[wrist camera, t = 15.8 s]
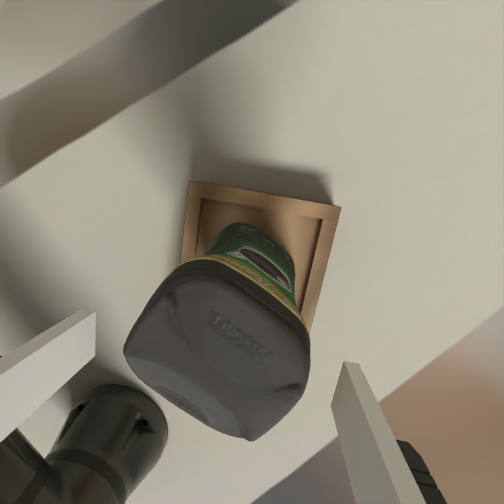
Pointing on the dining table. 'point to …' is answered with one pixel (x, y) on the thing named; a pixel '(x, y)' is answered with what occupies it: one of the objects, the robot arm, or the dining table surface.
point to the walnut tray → (266, 231)
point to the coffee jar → (226, 335)
